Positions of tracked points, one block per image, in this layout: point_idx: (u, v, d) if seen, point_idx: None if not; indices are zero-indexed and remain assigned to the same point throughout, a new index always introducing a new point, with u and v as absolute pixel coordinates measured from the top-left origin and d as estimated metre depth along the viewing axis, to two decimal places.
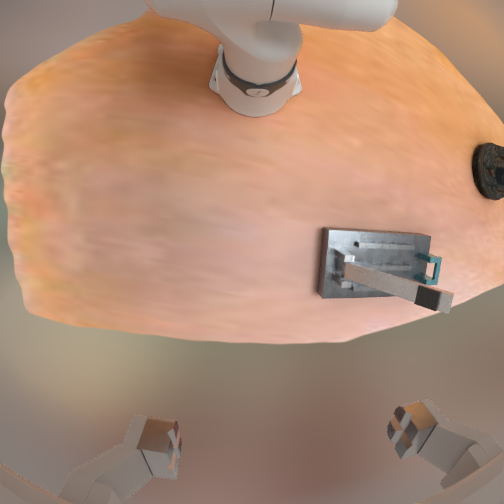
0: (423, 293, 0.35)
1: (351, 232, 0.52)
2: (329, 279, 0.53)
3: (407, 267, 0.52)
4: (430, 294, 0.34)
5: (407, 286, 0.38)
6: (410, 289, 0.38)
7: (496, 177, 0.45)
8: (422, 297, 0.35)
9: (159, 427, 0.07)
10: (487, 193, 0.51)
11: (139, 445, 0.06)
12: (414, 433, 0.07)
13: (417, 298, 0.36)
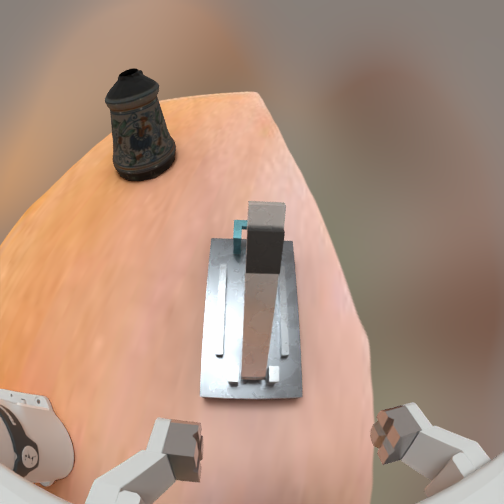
0: (257, 261, 0.23)
1: (203, 363, 0.35)
2: (273, 391, 0.34)
3: None
4: (256, 248, 0.23)
5: (253, 289, 0.25)
6: (257, 283, 0.25)
7: (142, 148, 0.54)
8: (265, 261, 0.23)
9: (183, 430, 0.07)
10: (165, 159, 0.59)
11: (164, 449, 0.06)
12: (396, 438, 0.07)
13: (269, 270, 0.24)
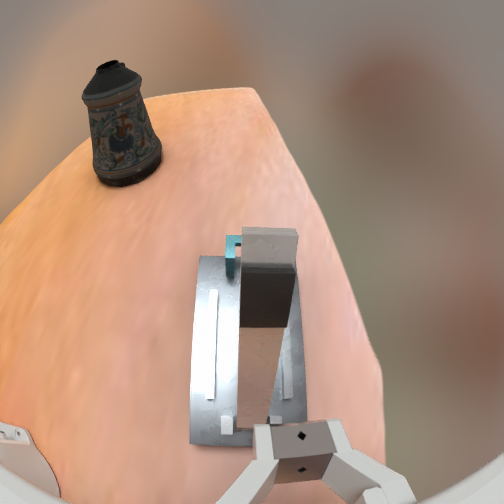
0: (255, 313, 0.16)
1: (192, 407, 0.28)
2: None
3: None
4: (253, 296, 0.15)
5: (250, 344, 0.18)
6: (256, 337, 0.18)
7: (123, 149, 0.46)
8: (266, 313, 0.16)
9: (287, 432, 0.07)
10: (150, 161, 0.51)
11: (275, 455, 0.06)
12: (307, 456, 0.06)
13: (272, 323, 0.16)
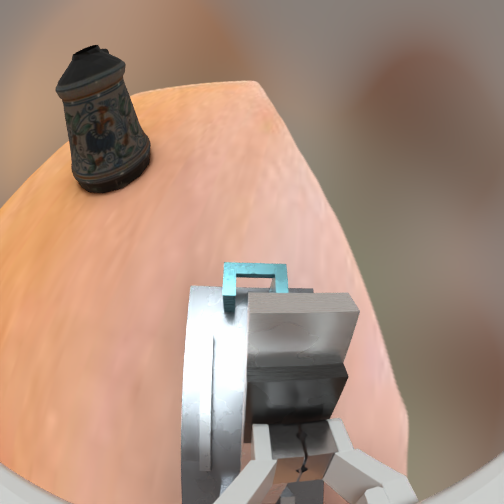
0: None
1: (183, 475, 0.19)
2: None
3: None
4: (269, 410, 0.08)
5: None
6: None
7: (102, 149, 0.37)
8: None
9: (285, 433, 0.07)
10: (135, 163, 0.42)
11: (273, 455, 0.06)
12: (309, 456, 0.06)
13: None
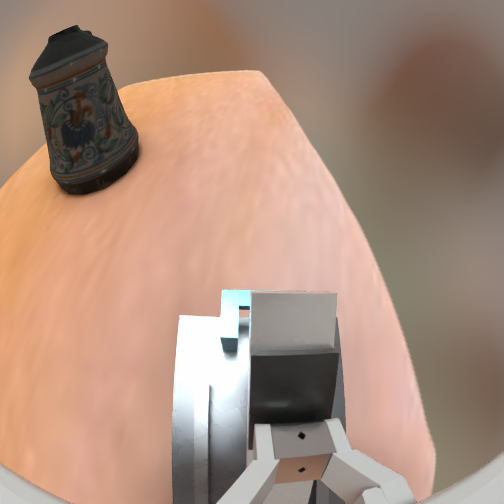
0: None
1: None
2: None
3: None
4: (272, 396, 0.08)
5: None
6: None
7: (80, 143, 0.30)
8: None
9: (288, 433, 0.07)
10: (119, 158, 0.35)
11: (276, 455, 0.06)
12: (306, 456, 0.06)
13: None
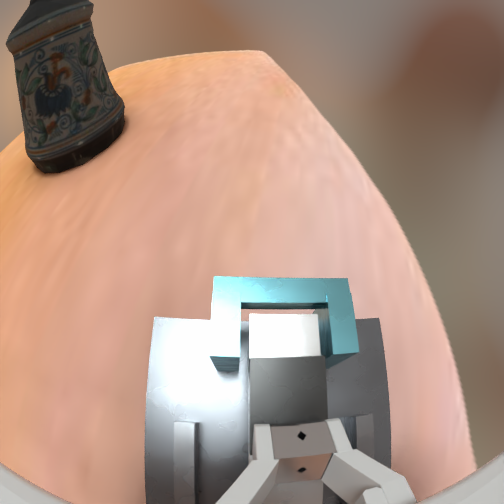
0: None
1: None
2: None
3: None
4: (270, 395, 0.09)
5: (269, 495, 0.07)
6: None
7: (55, 110, 0.22)
8: None
9: (287, 433, 0.07)
10: (99, 128, 0.27)
11: (275, 455, 0.06)
12: (307, 456, 0.06)
13: None
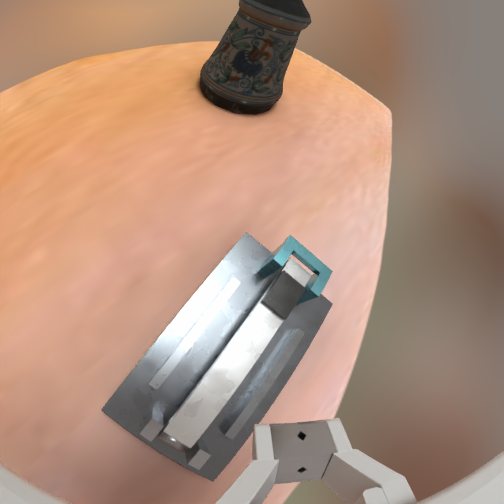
0: (276, 296, 0.26)
1: (128, 379, 0.23)
2: (186, 458, 0.21)
3: None
4: (281, 286, 0.27)
5: (255, 323, 0.25)
6: (261, 320, 0.26)
7: (244, 72, 0.38)
8: (281, 301, 0.26)
9: (287, 433, 0.07)
10: (260, 102, 0.43)
11: (275, 455, 0.06)
12: (307, 456, 0.06)
13: (280, 310, 0.26)
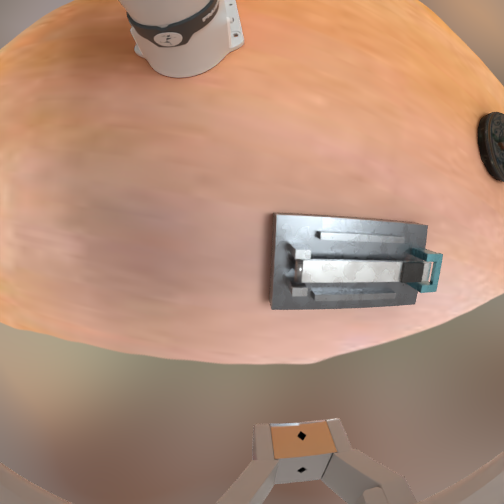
0: (410, 269, 0.36)
1: (310, 218, 0.38)
2: (280, 283, 0.40)
3: None
4: (416, 268, 0.36)
5: (391, 267, 0.36)
6: (394, 269, 0.36)
7: None
8: (409, 273, 0.36)
9: (287, 432, 0.07)
10: (498, 173, 0.37)
11: (275, 455, 0.06)
12: (307, 456, 0.06)
13: (404, 276, 0.36)
